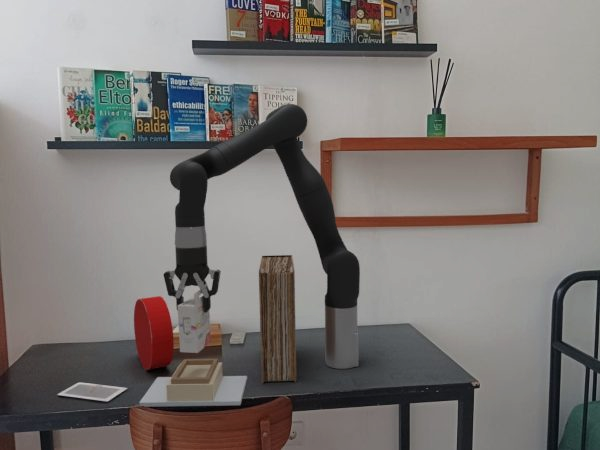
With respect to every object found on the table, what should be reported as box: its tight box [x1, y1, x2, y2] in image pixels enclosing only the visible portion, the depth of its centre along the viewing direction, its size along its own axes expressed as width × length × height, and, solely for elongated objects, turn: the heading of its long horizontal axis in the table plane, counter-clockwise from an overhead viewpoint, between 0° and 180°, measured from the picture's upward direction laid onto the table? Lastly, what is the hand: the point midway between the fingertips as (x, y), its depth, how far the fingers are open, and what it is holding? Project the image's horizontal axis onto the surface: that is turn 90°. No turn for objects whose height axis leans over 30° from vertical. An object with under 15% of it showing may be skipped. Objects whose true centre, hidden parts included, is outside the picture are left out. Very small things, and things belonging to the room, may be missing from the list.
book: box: [258, 254, 297, 385], centre depth 140 cm, size 25×9×30 cm, turn 2°
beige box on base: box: [138, 358, 248, 408], centre depth 124 cm, size 24×15×6 cm, turn 90°
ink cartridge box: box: [176, 289, 212, 354], centre depth 123 cm, size 9×5×15 cm, turn 168°
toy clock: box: [133, 295, 175, 371], centre depth 141 cm, size 20×6×20 cm, turn 32°
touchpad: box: [56, 382, 128, 403], centre depth 125 cm, size 8×15×2 cm, turn 73°
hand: (193, 311), depth 122 cm, fingers closed on ink cartridge box, 5 cm apart
